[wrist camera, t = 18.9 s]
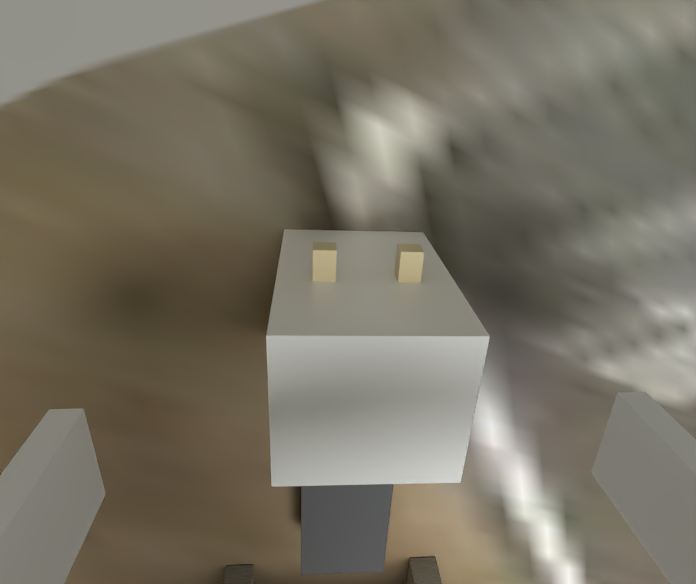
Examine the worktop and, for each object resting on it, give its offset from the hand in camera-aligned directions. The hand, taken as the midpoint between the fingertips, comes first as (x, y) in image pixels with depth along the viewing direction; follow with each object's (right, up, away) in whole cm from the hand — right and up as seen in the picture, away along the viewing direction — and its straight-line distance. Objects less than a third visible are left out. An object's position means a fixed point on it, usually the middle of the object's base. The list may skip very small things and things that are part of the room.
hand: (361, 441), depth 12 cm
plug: (0, -1, +10) cm, 10 cm away
